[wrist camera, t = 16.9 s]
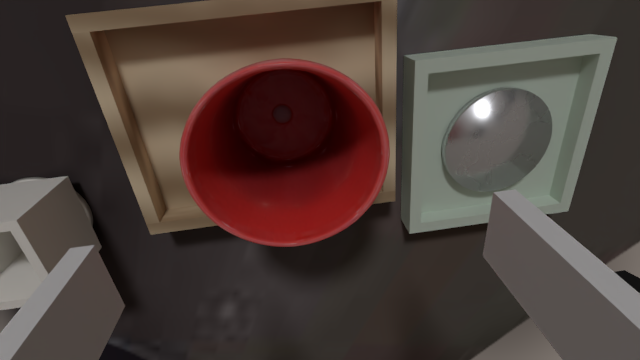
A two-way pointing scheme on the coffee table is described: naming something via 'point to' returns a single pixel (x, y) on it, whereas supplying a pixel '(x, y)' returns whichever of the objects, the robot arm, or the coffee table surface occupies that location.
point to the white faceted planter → (38, 233)
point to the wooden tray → (219, 76)
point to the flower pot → (284, 152)
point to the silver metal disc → (496, 139)
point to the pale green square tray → (480, 76)
